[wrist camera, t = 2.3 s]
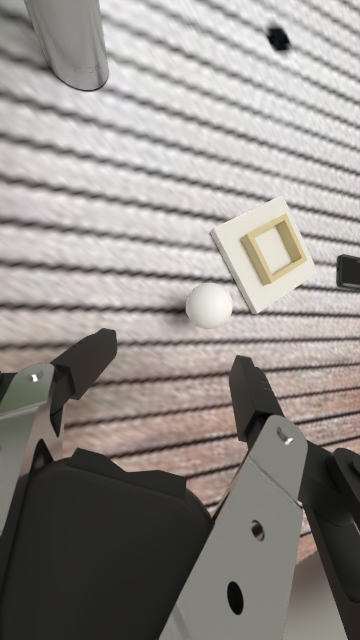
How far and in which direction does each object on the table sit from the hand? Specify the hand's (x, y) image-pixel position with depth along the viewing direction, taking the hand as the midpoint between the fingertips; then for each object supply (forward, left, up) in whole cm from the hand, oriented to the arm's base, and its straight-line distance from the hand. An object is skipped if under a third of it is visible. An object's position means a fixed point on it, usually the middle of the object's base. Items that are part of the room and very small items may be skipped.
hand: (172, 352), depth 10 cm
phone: (+14, +51, -18) cm, 55 cm away
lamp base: (-2, +28, -17) cm, 33 cm away
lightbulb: (0, +8, -17) cm, 19 cm away
